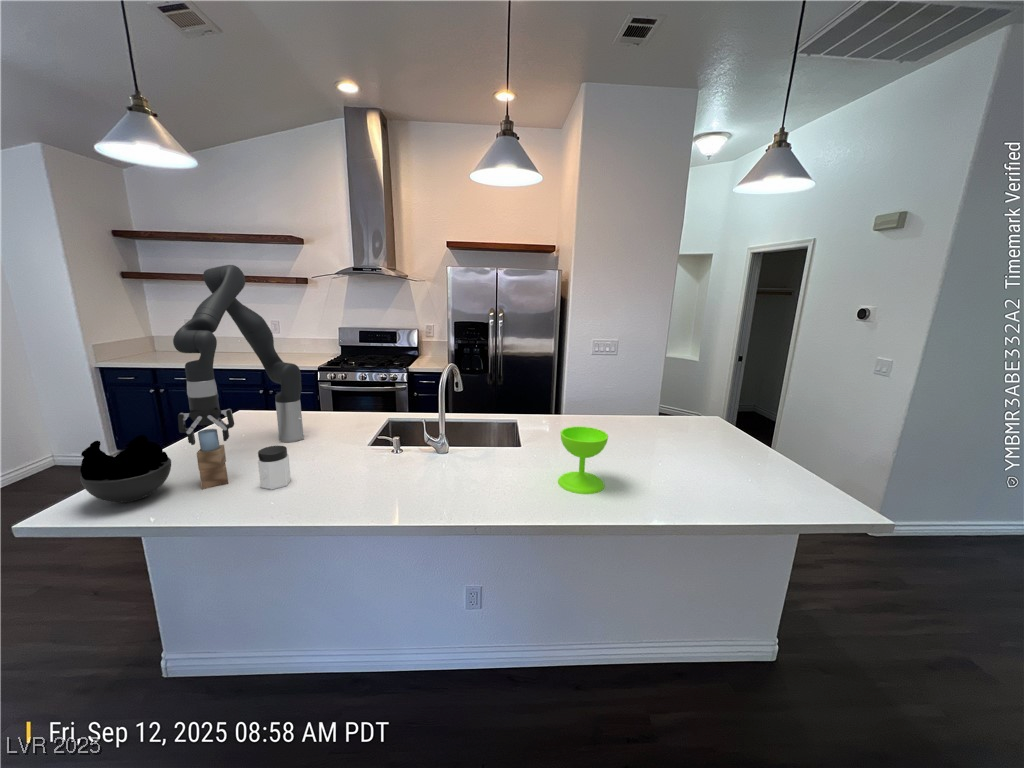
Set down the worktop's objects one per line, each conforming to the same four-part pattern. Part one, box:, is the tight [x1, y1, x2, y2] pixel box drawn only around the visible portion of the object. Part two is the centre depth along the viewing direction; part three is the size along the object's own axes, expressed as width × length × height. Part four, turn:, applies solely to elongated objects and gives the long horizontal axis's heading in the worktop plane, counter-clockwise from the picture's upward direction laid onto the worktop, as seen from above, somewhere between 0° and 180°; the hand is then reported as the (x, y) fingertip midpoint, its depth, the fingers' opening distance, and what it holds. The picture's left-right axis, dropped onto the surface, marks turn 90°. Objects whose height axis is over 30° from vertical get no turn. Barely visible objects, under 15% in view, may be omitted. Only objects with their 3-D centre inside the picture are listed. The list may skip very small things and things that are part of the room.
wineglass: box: [557, 426, 609, 495], centre depth 141 cm, size 16×16×18 cm
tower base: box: [198, 463, 229, 490], centre depth 136 cm, size 7×7×6 cm
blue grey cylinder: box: [197, 428, 220, 452], centre depth 133 cm, size 5×5×6 cm
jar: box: [257, 445, 292, 491], centre depth 135 cm, size 9×8×12 cm
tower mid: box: [196, 444, 227, 471], centre depth 135 cm, size 6×6×6 cm
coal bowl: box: [79, 434, 172, 504], centre depth 123 cm, size 20×20×19 cm
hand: (209, 442), depth 134 cm, fingers open, 8 cm apart
